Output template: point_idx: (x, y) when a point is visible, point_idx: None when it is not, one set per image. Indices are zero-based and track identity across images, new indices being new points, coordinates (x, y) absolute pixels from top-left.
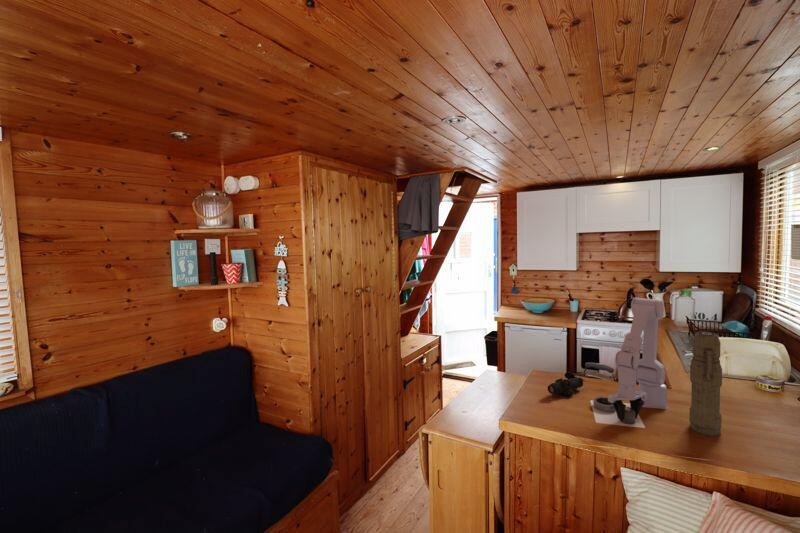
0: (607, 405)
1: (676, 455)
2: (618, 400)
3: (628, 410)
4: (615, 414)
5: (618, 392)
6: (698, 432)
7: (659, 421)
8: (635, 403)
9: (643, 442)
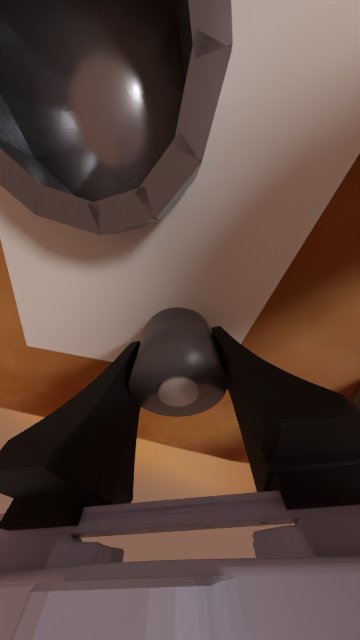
0: (74, 211)
1: (206, 452)
2: (59, 533)
3: (176, 402)
4: (146, 263)
5: (31, 634)
6: (357, 404)
7: (322, 331)
8: (249, 446)
9: (164, 425)
